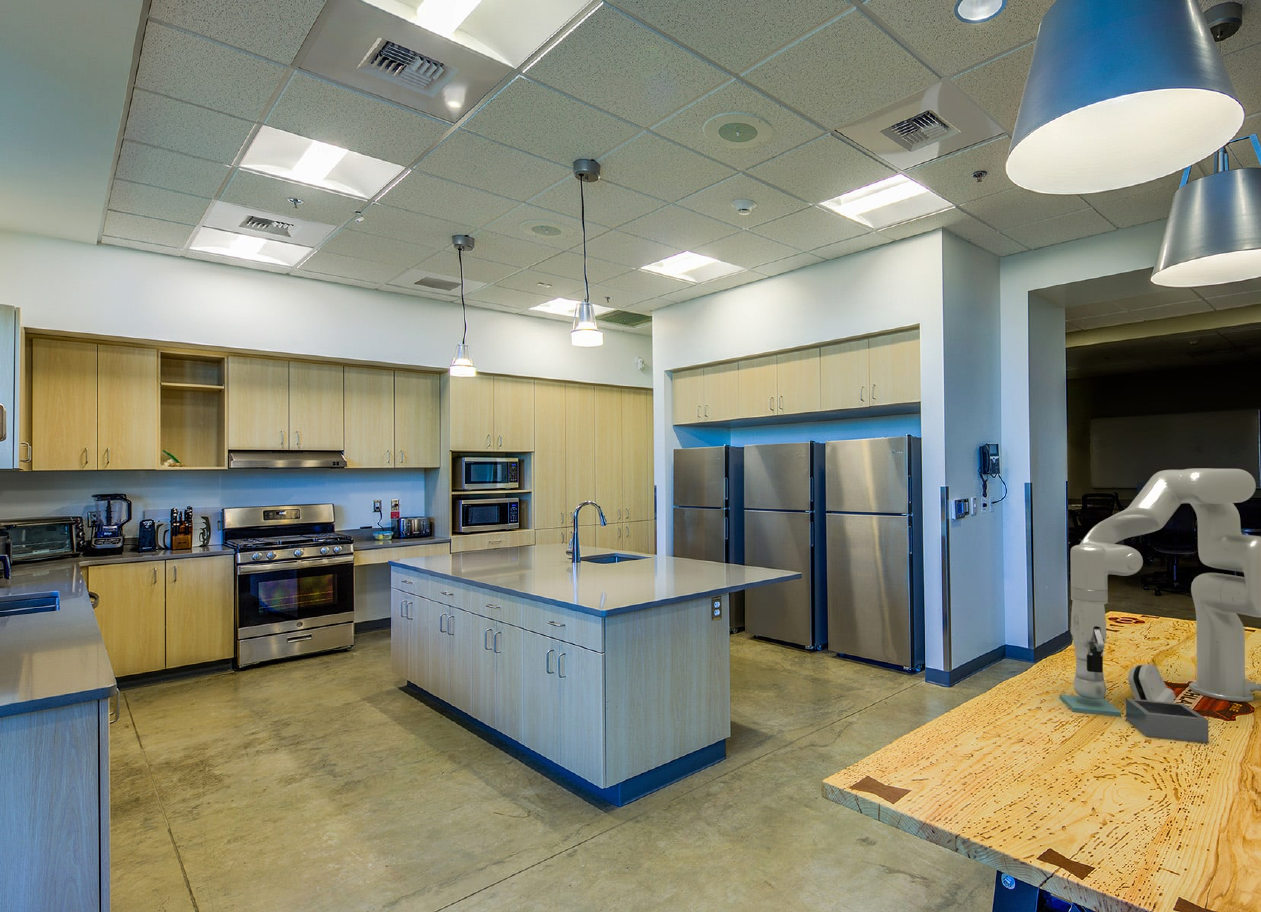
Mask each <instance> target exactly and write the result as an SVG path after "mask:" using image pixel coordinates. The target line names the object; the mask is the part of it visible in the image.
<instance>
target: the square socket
mask: <svg viewBox="0 0 1261 912" xmlns="http://www.w3.org/2000/svg"><path fill="white" fill-rule="evenodd" d="M1125 720H1126V721H1127V722H1128V723H1129V724H1130V725H1131V726H1133V727H1134V728H1135V729H1137V730H1138V732H1140V733H1141V734H1142V735H1143V736H1145V737H1146V738H1154V739H1162V740H1163V739H1164V740H1174V741H1181V742H1191V743H1199V744H1200V743H1202V744H1209V719H1207V718H1206V717H1204V716H1203V715H1201V714H1200V713H1198V712H1197V711H1195V710H1194V709H1192V708H1191V707H1190V706H1188V705H1186V704H1185V703H1181V702H1180V703H1179V702H1172V703H1171V702H1160V701H1150V700H1139V699H1135V698H1128V697H1127V698H1126V697H1125Z"/></svg>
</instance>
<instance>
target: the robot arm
mask: <svg viewBox="0 0 1261 912" xmlns="http://www.w3.org/2000/svg"><path fill="white" fill-rule="evenodd" d="M1255 492H1256V481H1255V478H1254V477H1253V475H1252V474H1251V473H1249V472H1248V471H1246V469H1245V470H1244V469H1241V468H1210V467H1209V468H1207V467H1206V468H1204V467H1203V468H1199V467H1198V468H1196V467H1195V468H1185V469H1166V470H1165V469H1164V470H1160V471H1157V472H1156V473H1154V474H1153V475H1152V476H1151V477H1150V478H1149V480H1148V481H1147V482H1146V484H1145V485H1144V486H1143V487H1142V489H1141V490H1140V491H1139V493H1138V494H1137V495H1136V496H1135V497H1134V499H1133V500H1132V502H1130V504H1129V506H1127V508H1125V509H1124V510H1122V511H1119V512H1117V513H1115V514H1113V515H1111V516H1109V517H1108V518H1105V519H1103V520H1102V521H1100V522H1098V523H1097V524H1095V525H1094V526H1093V527H1092V528H1091V529H1090V530H1089V531H1088V532H1087V534H1085V536H1084V537H1083V539H1082V540H1081V541H1080V543H1079V544H1076V545H1074V546H1072V547H1071V548H1070V600H1071V601H1072V602H1071V603H1072V604H1071V611H1070V612H1071V613H1070V615H1071V616H1070V634H1071V636H1073V635H1074V632H1077V634H1078V637H1079V640H1080V641H1081V642H1082V643H1086V642H1087V647H1088V654H1089V655H1087V671H1089V672H1099V673H1102V672H1103V673H1104V662H1103V661H1104V652H1103V648H1104V649H1105V646H1104V645H1105V644H1106V642H1107V622H1106V619H1107V618H1106V610H1105V605H1106V604H1108V603H1109V601H1108V600H1109V599H1108V598H1109V597H1108V592H1109V591H1108V576H1109V575H1114V576H1115V575H1116V576H1124V577H1125V576H1126V577H1127V576H1131V575H1134V574H1137V573H1138V572H1139V571H1140V570H1141V569H1142V567H1143V563H1144V560H1143V556H1142V555H1141V553H1140V552H1139V551H1138V550H1137V549H1135V548H1133V547H1131V546H1128V545H1125V544H1124V545H1123V544H1116V543H1118V542H1120V541H1122V540H1125V539H1126V540H1127V539H1128V538H1132V537H1138V536H1142V535H1146V534H1150V533H1155V532H1156V531H1159V530H1161V529H1162V528H1163V527H1165V525H1166V524H1167V522H1168V521H1169V520H1170V518H1171V517H1172V516H1173V515H1174V513H1175V512H1176V511H1177V509H1179V507H1180V506H1181V504H1190V506H1191V507H1192V508H1193V510H1194V512H1195V514H1196V518H1197V521H1196V522H1197V550H1198V551H1197V552H1198V557H1199V560H1200V562H1201V563H1202V564H1203V565H1205V566H1208V567H1211V568H1214V569H1218V570H1227V571H1233V572H1240V573H1243V576H1238V575H1233V574H1225V573H1218V572H1204V573H1201V574H1199V575H1198V576H1195V577H1194V579H1193V581H1192V582H1191V587H1190V592H1191V596H1192V600H1193V604H1194V608H1195V619H1196V681H1192V682H1190V683H1189V684H1188V685H1189V687H1188V688H1189V690H1191V691H1192V692H1195V693H1196V694H1200V695H1202V696H1206V697H1208V698H1213V699H1217V700H1223V701H1231V702H1245V703H1246V702H1251V701H1253V700H1254V694H1253V692H1255V691H1258V692H1261V683H1257V682H1256V681H1250V680H1249V679H1246V642H1245V641H1246V640H1245V639H1246V634H1245V633H1246V631H1245V627H1244V624H1243V622H1242V620H1241V619H1240V617H1239V616H1238V614H1239V615H1245V616H1247V617H1248V616H1249V617H1254V618H1261V536H1260V535H1259V536H1258V535H1249V534H1243V533H1242V529H1241V528H1242V527H1241V517H1240V513H1239V510H1238V509H1237V506H1235V504H1236V503H1237V504H1238V503H1243V502H1246V501H1247V500H1249V499H1250V498H1252V496H1253V495H1254V493H1255ZM1090 640H1095V641H1096V643H1095V642H1090ZM1104 643H1105V644H1104ZM1091 645H1095V646H1094V647H1093V649H1092V646H1091Z"/></svg>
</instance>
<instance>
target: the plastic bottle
mask: <svg viewBox="0 0 1261 912" xmlns="http://www.w3.org/2000/svg"><path fill="white" fill-rule="evenodd" d="M1072 638H1073V639H1072V640H1073V647H1074V650H1075V651H1074V652H1075V663H1076V664H1075V674H1074V675H1075V676H1074V679H1073V680H1074V681H1073V689H1074V692H1075V694H1077V696H1082V697H1085V698H1089V699H1103V698H1105V696H1107V695H1106V693H1107V686H1106V681H1105V677H1104V676H1105V675H1104V671H1103V672H1102V673H1099V672H1089V671H1087V655H1089V654H1088V647H1087V642H1086V643H1082V642H1081V641H1080V640H1079V637H1078V634H1077V632H1074V635H1072ZM1090 642H1095V643H1096V641H1095V640H1090ZM1105 644H1106V642H1105V643H1104V648H1103V653H1105V651H1104V650H1105ZM1091 646H1092V649H1093V647H1094V646H1095V645H1091Z"/></svg>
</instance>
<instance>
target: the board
mask: <svg viewBox="0 0 1261 912" xmlns="http://www.w3.org/2000/svg"><path fill="white" fill-rule="evenodd" d="M1058 695H1059V699H1060V700H1061V701H1062V702H1063V703H1064V704H1065V705H1066V706H1067V708H1069V709H1070V710H1071V711H1072V712H1074V713H1080V714H1081V713H1082V714H1091V715H1092V714H1093V715H1100V716H1102V715H1103V716H1111V717H1120V718H1121V717H1122V712H1121V711H1120V710H1119V708H1117V707H1115V705H1113V704H1112V703H1111V702H1110V701H1108V700H1107V699H1106V698H1105V697H1104V698H1103V699H1089V698H1085V697H1082V696H1079V695H1073V694H1064V693H1063V694H1062V693H1061V694H1060V693H1059V694H1058Z"/></svg>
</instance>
